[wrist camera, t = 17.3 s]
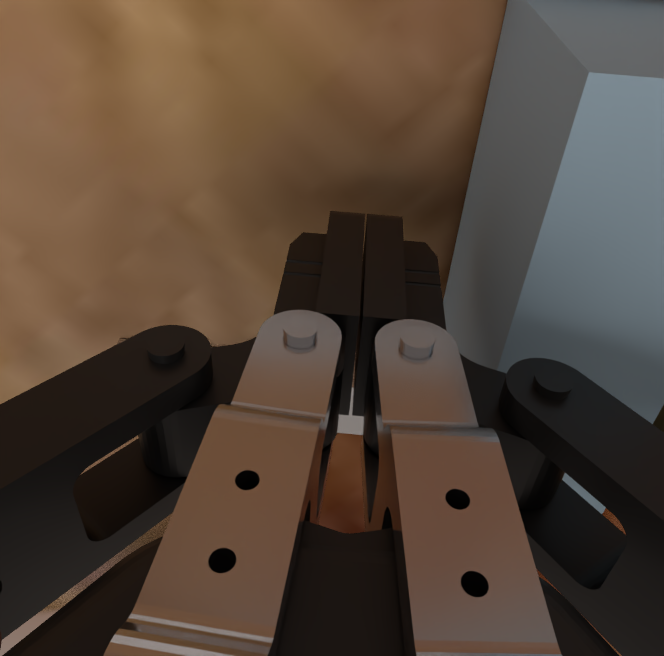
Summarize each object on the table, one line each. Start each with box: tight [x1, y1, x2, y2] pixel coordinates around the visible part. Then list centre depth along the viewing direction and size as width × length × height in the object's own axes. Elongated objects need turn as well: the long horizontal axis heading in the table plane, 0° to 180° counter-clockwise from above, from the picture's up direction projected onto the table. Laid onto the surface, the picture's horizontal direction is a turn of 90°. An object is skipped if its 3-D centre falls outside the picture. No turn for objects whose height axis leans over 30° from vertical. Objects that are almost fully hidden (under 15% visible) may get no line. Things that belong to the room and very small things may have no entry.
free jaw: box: [443, 0, 664, 514], centre depth 13 cm, size 10×3×6 cm, turn 176°
